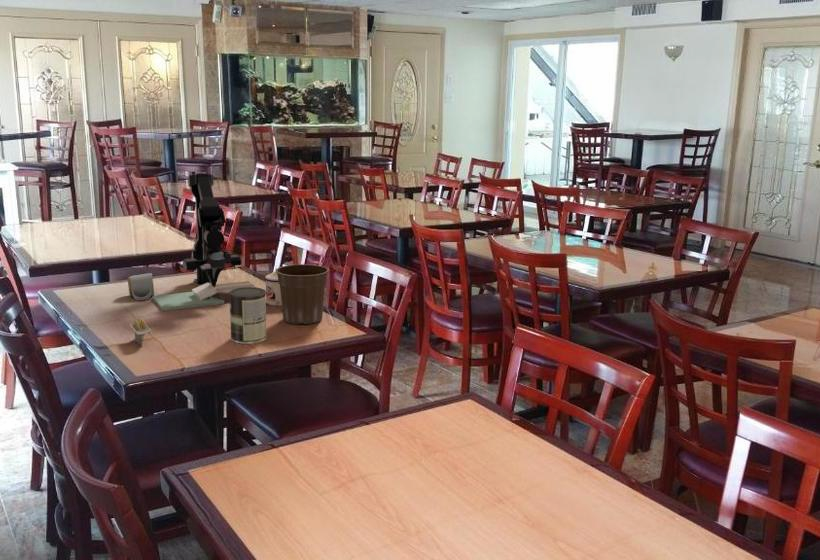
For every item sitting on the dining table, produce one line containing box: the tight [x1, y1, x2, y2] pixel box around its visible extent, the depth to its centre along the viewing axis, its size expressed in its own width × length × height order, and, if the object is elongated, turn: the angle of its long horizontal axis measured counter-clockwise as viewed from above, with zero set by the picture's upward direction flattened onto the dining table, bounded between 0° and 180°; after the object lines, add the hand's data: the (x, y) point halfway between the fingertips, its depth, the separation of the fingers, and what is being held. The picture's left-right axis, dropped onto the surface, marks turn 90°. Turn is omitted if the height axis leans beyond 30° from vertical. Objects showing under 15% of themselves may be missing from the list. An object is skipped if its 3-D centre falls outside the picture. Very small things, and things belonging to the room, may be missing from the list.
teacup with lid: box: [264, 270, 282, 307], centre depth 260 cm, size 12×9×12 cm
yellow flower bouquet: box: [129, 318, 151, 348], centre depth 219 cm, size 12×18×7 cm, turn 31°
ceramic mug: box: [127, 272, 155, 301], centre depth 265 cm, size 11×8×8 cm
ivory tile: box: [191, 283, 217, 300], centre depth 263 cm, size 8×6×2 cm
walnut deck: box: [214, 280, 258, 303], centre depth 269 cm, size 13×14×3 cm
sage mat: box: [151, 291, 225, 312], centre depth 262 cm, size 16×20×1 cm
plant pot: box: [275, 263, 330, 325], centre depth 242 cm, size 16×16×16 cm
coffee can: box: [229, 286, 268, 345], centre depth 223 cm, size 10×10×14 cm
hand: (213, 286), depth 265 cm, fingers closed
